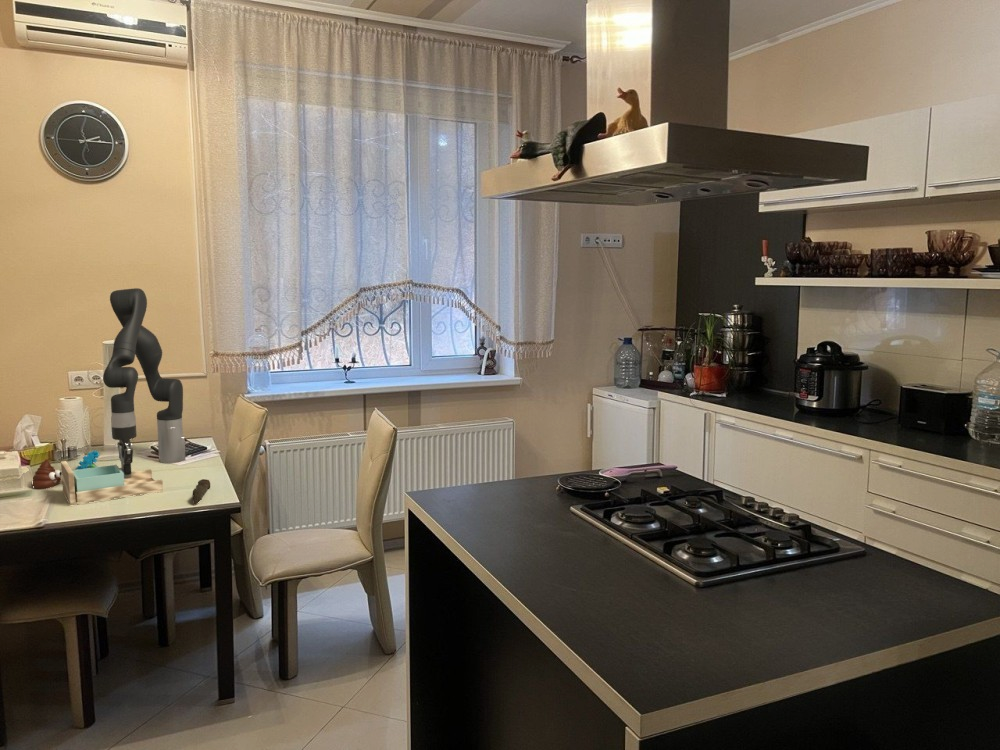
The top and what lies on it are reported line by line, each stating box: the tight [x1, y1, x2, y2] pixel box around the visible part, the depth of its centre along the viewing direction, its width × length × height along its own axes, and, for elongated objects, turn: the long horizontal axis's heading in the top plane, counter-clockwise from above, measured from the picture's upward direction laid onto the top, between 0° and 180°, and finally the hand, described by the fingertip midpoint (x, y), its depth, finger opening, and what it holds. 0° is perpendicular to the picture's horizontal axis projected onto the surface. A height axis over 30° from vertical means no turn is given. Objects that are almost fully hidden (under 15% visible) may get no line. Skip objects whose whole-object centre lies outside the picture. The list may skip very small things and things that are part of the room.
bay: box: [60, 460, 164, 506], centre depth 256 cm, size 28×18×11 cm, turn 127°
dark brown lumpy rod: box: [192, 478, 211, 504], centre depth 253 cm, size 19×4×5 cm, turn 10°
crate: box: [72, 458, 132, 495], centre depth 254 cm, size 18×13×10 cm
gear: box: [75, 450, 100, 470], centre depth 283 cm, size 11×6×10 cm
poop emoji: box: [32, 459, 62, 490], centre depth 263 cm, size 10×8×9 cm
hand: (126, 473), depth 259 cm, fingers closed on crate, 3 cm apart
